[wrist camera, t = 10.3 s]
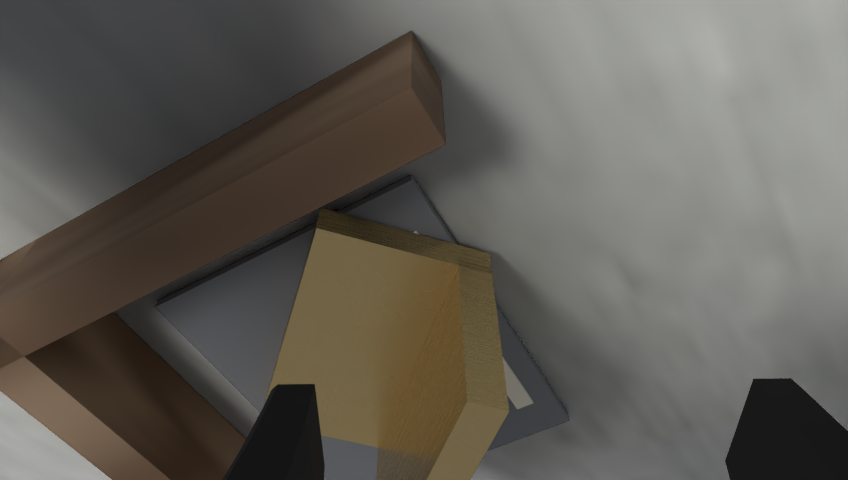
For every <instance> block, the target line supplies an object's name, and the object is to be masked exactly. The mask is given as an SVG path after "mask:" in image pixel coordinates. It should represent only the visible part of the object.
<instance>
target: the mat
mask: <svg viewBox="0 0 848 480" xmlns="http://www.w3.org/2000/svg"><path fill="white" fill-rule="evenodd" d="M338 213H342V214H345V215H349V216H353V217H357V218H360V219H364V220H368V221H371V222H375V223H379V224H383V225H386V226H390V227H394V228H397V229H401V230H405V231H409V232H412V233H416V234H420V235H424V236H427V237H431V238H435V239H438V240H442V241H446V242H450V243H453V244H457V243H456V242H455V240H454V239H453V237H452V235H451V234H450V232H449V231H448V229H447V228H446V226H445V225H444V223H443V222H442V220H441V219H440V217H439V216H438V214H437V213H436V211H435V209H434V208H433V206H432V205H431V203H430V202H429V200H428V199H427V197H426V196H425V194H424V193H423V191H422V190H421V188H420V187H419V185H418V183H417V182H416V180H415V179H414V177H413V176H412V175H410V176H408V177H406V178H404V179H402V180H400V181H398V182H396V183H394V184H392V185H390V186H388V187H386V188H384V189H382V190H380V191H378V192H376V193H374V194H372V195H370V196H368V197H366V198H364V199H362V200H360V201H358V202H356V203H354V204H352V205H350V206H348V207H346V208H344V209H342V210H340V211H338ZM316 223H317V222H315V223H313V224H311V225H309V226H307V227H305V228H303V229H301V230H299V231H297V232H295V233H293V234H291V235H289V236H287V237H285V238H283V239H281V240H279V241H277V242H275V243H273V244H271V245H269V246H267V247H265V248H263V249H261V250H259V251H257V252H255V253H253V254H251V255H249V256H247V257H245V258H243V259H241V260H239V261H237V262H235V263H233V264H231V265H229V266H227V267H225V268H223V269H221V270H219V271H217V272H215V273H213V274H211V275H209V276H207V277H205V278H203V279H201V280H199V281H197V282H195V283H193V284H191V285H189V286H187V287H185V288H183V289H181V290H179V291H177V292H175V293H173V294H171V295H169V296H167V297H165V298H163V299H161V300H159V301H158V302H157V304H156V306H155V308H156V309H157V310H158V311H159V312H160V313H161V314H162V315H163V316H164V317H165V318H166V319H167V320H168V321H169V322H170V323H171V324H172V325H173V326H174V327H175V328H176V329H177V330H178V331H179V332H180V333H181V334H182V335H183V336H184V337H185V338H186V339H187V340H188V341H189V342H190V343H191V344H192V345H193V346H194V347H195V348H196V349H197V350H198V351H199V352H200V353H201V354H202V355H203V356H204V357H205V358H206V359H207V360H208V361H209V362H210V363H211V364H212V365H213V366H214V367H215V368H216V369H217V370H218V371H219V372H220V373H221V374H222V375H223V376H224V377H225V378H226V379H227V380H228V381H229V382H230V383H231V384H232V385H233V386H234V387H235V388H236V389H237V390H238V391H239V392H240V393H241V394H242V395H243V396H244V397H245V398H246V399H247V400H248V401H249V402H250V403H251V404H252V405H253V406H254V407H255V408H256V409H257V410H258V411H259V412H260V413H261V411H262V409H263V406H264V401H265V397H266V394H267V391H268V387H269V384H270V380H271V377H272V374H273V370H274V367H275V363H276V360H277V356H278V353H279V350H280V346H281V343H282V339H283V336H284V332H285V329H286V326H287V322H288V319H289V315H290V312H291V309H292V305H293V302H294V298H295V295H296V291H297V288H298V285H299V281H300V278H301V274H302V271H303V268H304V264H305V261H306V257H307V254H308V250H309V247H310V244H311V240H312V237H313V233H314V230H315V227H316ZM496 309H497V317H498V325H499V333H500V341H501V349H502V357H503V365H504V373H505V381H506V389H507V397H508V405H509V413H508V414H507V416H506V418H505V420H504V421H503V423H502V425H501V427H500V428H499V430H498V432H497V434H496V436H495V437H494V439H493V441H492V443H491V444H490V446H489V448H488V450H491V449H494V448H496V447H499V446H502V445H504V444H507V443H510V442H512V441H515V440H518V439H521V438H523V437H526V436H529V435H531V434H534V433H537V432H539V431H542V430H545V429H547V428H550V427H553V426H556V425H558V424H561V423H564V422H566V421H569V416H568V413H567V411H566V410H565V408H564V407H563V405H562V404H561V402H560V401H559V399H558V398H557V396H556V395H555V393H554V391H553V390H552V388H551V387H550V385H549V384H548V382H547V381H546V379H545V378H544V376H543V375H542V373H541V372H540V370H539V369H538V367H537V365H536V364H535V362H534V361H533V359H532V358H531V356H530V355H529V353H528V352H527V350H526V349H525V347H524V346H523V344H522V343H521V341H520V339H519V338H518V336H517V335H516V333H515V332H514V330H513V329H512V327H511V326H510V324H509V323H508V321H507V320H506V318H505V317H504V315H503V313H502V312H501V310H500V309H499V307H498V306H497V304H496ZM321 439H322V447H323V456H324V464H325V470H324V477H325V478H326V479H327V480H376V472H377V456H378V447H373V446H368V445H364V444H359V443H354V442H350V441H345V440H340V439H335V438H331V437H326V436H321ZM488 450H487V451H488Z"/></svg>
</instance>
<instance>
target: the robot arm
mask: <svg viewBox="0 0 848 480" xmlns="http://www.w3.org/2000/svg"><path fill="white" fill-rule="evenodd" d="M725 462H726V465H727V469H728V473H729V476H730V480H848V431H847V430H846V429H845V428H844V427H843V426H842V425H840V424H839V423H838V422H837V421H836V420H835V419H834V418H833V417H832V416H831V415H830V414H829V413H828V412H827V411H826V410H824V409H823V408H822V407H821V406H820V405H819V404H818V403H817V402H816V401H815V400H814V399H813V398H812V397H811V396H809V395H808V394H807V393H806V392H805V391H804V390H803V389H802V388H801V387H800V386H799V385H797V384H796V383H795V382H794V381H793V380H792V379H791V378H789V379H753V382H752V385H751V388H750V391H749V394H748V397H747V400H746V402H745V405H744V408H743V411H742V414H741V417H740V420H739V423H738V426H737V428H736V431H735V434H734V437H733V440H732V443H731V446H730V449H729V452H728V455H727V457H726V460H725ZM324 470H325V464H324V456H323V447H322V439H321V431H320V423H319V414H318V406H317V398H316V390H315V384H278V385H276V386H275V387H274V388H273V389H272V390H271V392H270V394H269V396H268V398H267V400H266V403H265V405H264V407H263V409H262V411H261V413H260V415H259V417H258V418H257V420H256V422H255V424H254V426H253V428H252V430H251V432H250V433H249V435H248V437H247V439H246V441H245V442H244V444H243V446H242V448H241V449H240V451H239V453H238V455H237V456H236V458H235V460H234V461H233V463H232V464H231V466H230V468H229V469H228V471H227V473H226V474H225V476H224V477H223V479H222V480H324Z"/></svg>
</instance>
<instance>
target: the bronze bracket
mask: <svg viewBox="0 0 848 480" xmlns="http://www.w3.org/2000/svg"><path fill="white" fill-rule="evenodd" d="M278 384H315V390H316V398H317V406H318V414H319V423H320V431H321V436H326V437H331V438H335V439H340V440H345V441H350V442H354V443H359V444H364V445H368V446H373V447H378V456H377V472H376V480H470V479H471V478H472V476H473V474H474V472H475V471H476V469H477V467H478V465H479V464H480V462H481V460H482V458H483V457H484V455H485V453H486V451H487V450H488V448H489V446H490V444H491V443H492V441H493V439H494V437H495V436H496V434H497V432H498V430H499V428H500V427H501V425H502V423H503V421H504V420H505V418H506V416H507V414H508V413H509V405H508V397H507V389H506V381H505V373H504V365H503V357H502V349H501V341H500V333H499V325H498V317H497V309H496V300H495V292H494V284H493V276H492V268H491V260H490V253H487V252H483V251H479V250H476V249H472V248H468V247H464V246H461V245H457V244H453V243H450V242H446V241H442V240H438V239H435V238H431V237H427V236H424V235H420V234H416V233H412V232H409V231H405V230H401V229H397V228H394V227H390V226H386V225H383V224H379V223H375V222H371V221H368V220H364V219H360V218H357V217H353V216H349V215H345V214H342V213H338V212H334V211H331V210H327V209H323V208H321V209H320V213H319V216H318V220H317V223H316V227H315V230H314V233H313V237H312V240H311V244H310V247H309V250H308V254H307V257H306V261H305V264H304V268H303V271H302V274H301V278H300V281H299V285H298V288H297V291H296V295H295V298H294V302H293V305H292V309H291V312H290V315H289V319H288V322H287V326H286V329H285V332H284V336H283V339H282V343H281V346H280V350H279V353H278V356H277V360H276V363H275V367H274V370H273V374H272V377H271V380H270V384H269V387H268V391H267V394H266V397H265V401H264V405H265V403H266V400H267V398H268V396H269V394H270V392H271V390H272V389H273V388H274V387H275V386H276V385H278ZM263 407H264V406H263Z"/></svg>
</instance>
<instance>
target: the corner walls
mask: <svg viewBox="0 0 848 480" xmlns="http://www.w3.org/2000/svg"><path fill="white" fill-rule="evenodd" d="M445 144H446V139H445V126H444V114H443V101H442V89H441V80H440V79H439V77H438V75H437V73H436V72H435V70H434V68H433V67H432V65H431V63H430V61H429V60H428V58H427V56H426V55H425V53H424V51H423V49H422V48H421V46H420V44H419V42H418V41H417V39H416V37H415V36H414V34H413V32H412V31H410V32H408V33H406V34H405V35H403V36H401V37H399V38H397V39H396V40H394V41H392V42H390V43H388V44H387V45H385V46H383V47H381V48H379V49H378V50H376V51H374V52H372V53H371V54H369V55H367V56H365V57H363V58H362V59H360V60H358V61H356V62H354V63H353V64H351V65H349V66H347V67H345V68H344V69H342V70H340V71H338V72H336V73H335V74H333V75H331V76H329V77H327V78H326V79H324V80H322V81H320V82H319V83H317V84H315V85H313V86H311V87H310V88H308V89H306V90H304V91H302V92H301V93H299V94H297V95H295V96H293V97H292V98H290V99H288V100H286V101H284V102H283V103H281V104H279V105H277V106H275V107H274V108H272V109H270V110H268V111H267V112H265V113H263V114H261V115H259V116H258V117H256V118H254V119H252V120H250V121H249V122H247V123H245V124H243V125H241V126H240V127H238V128H236V129H234V130H232V131H231V132H229V133H227V134H225V135H223V136H222V137H220V138H218V139H216V140H215V141H213V142H211V143H209V144H207V145H206V146H204V147H202V148H200V149H198V150H197V151H195V152H193V153H191V154H189V155H188V156H186V157H184V158H182V159H180V160H179V161H177V162H175V163H173V164H171V165H170V166H168V167H166V168H164V169H163V170H161V171H159V172H157V173H155V174H154V175H152V176H150V177H148V178H146V179H145V180H143V181H141V182H139V183H137V184H136V185H134V186H132V187H130V188H128V189H127V190H125V191H123V192H121V193H119V194H118V195H116V196H114V197H112V198H111V199H109V200H107V201H105V202H103V203H102V204H100V205H98V206H96V207H94V208H93V209H91V210H89V211H87V212H85V213H84V214H82V215H80V216H78V217H76V218H75V219H73V220H71V221H69V222H67V223H66V224H64V225H62V226H60V227H59V228H57V229H55V230H53V231H51V232H50V233H48V234H46V235H44V236H42V237H41V238H39V239H37V240H35V241H33V242H32V243H30V244H28V245H26V246H24V247H23V248H21V249H19V250H17V251H15V252H14V253H12V254H10V255H8V256H7V257H5V258H3V259H1V260H0V391H1V392H2V393H4V394H5V395H6V396H8V397H9V398H10V399H11V400H13V401H14V402H15V403H16V404H18V405H19V406H20V407H21V408H23V409H24V410H25V411H26V412H28V413H29V414H30V415H31V416H33V417H34V418H35V419H36V420H38V421H39V422H40V423H42V424H43V425H44V426H45V427H47V428H48V429H49V430H50V431H52V432H53V433H54V434H55V435H57V436H58V437H59V438H60V439H62V440H63V441H64V442H65V443H67V444H68V445H69V446H70V447H72V448H73V449H74V450H76V451H77V452H78V453H79V454H81V455H82V456H83V457H84V458H86V459H87V460H88V461H89V462H91V463H92V464H93V465H94V466H96V467H97V468H98V469H99V470H101V471H102V472H103V473H105V474H106V475H107V476H108V477H110V478H111V479H112V480H222V479H223V477H224V476H225V474H226V473H227V471H228V469H229V468H230V466H231V464H232V463H233V461H234V460H235V458H236V456H237V455H238V453H239V451H240V449H241V448H242V446H243V444H244V442H245V441H246V439H245V438H244V437H243V436H242V435H241V434H240V433H239V432H238V431H237V430H236V429H235V428H234V427H233V426H232V425H231V424H230V423H229V422H227V421H226V420H225V419H224V418H223V417H222V416H221V415H220V414H219V413H218V412H217V411H216V410H215V409H214V408H213V407H212V406H211V405H210V404H209V403H208V402H207V401H206V400H204V399H203V398H202V397H201V396H200V395H199V394H198V393H197V392H196V391H195V390H194V389H193V388H192V387H191V386H190V385H189V384H188V383H187V382H186V381H185V380H184V379H182V378H181V377H180V376H179V375H178V374H177V373H176V372H175V371H174V370H173V369H172V368H171V367H170V366H169V365H168V364H167V363H166V362H165V361H164V360H163V359H162V358H161V357H159V356H158V355H157V354H156V353H155V352H154V351H153V350H152V349H151V348H150V347H149V346H148V345H147V344H146V343H145V342H144V341H143V340H142V339H141V338H140V337H139V336H138V335H136V334H135V333H134V332H133V331H132V330H131V329H130V328H129V327H128V326H127V325H126V324H125V323H124V322H123V321H122V320H121V319H120V318H119V317H118V316H117V315H116V314H115V313H113V312H114V311H116V310H118V309H120V308H122V307H124V306H126V305H128V304H130V303H132V302H133V301H135V300H137V299H139V298H141V297H143V296H145V295H147V294H149V293H151V292H153V291H155V290H157V289H159V288H161V287H163V286H165V285H167V284H169V283H171V282H173V281H175V280H177V279H179V278H181V277H183V276H185V275H187V274H189V273H191V272H193V271H195V270H197V269H199V268H201V267H203V266H205V265H207V264H209V263H211V262H213V261H215V260H217V259H219V258H221V257H223V256H225V255H227V254H229V253H231V252H233V251H235V250H237V249H239V248H241V247H243V246H245V245H247V244H249V243H251V242H253V241H255V240H257V239H259V238H261V237H263V236H265V235H267V234H269V233H271V232H273V231H275V230H277V229H279V228H281V227H283V226H285V225H286V224H288V223H290V222H292V221H294V220H296V219H298V218H300V217H302V216H304V215H306V214H308V213H310V212H312V211H314V210H316V209H318V208H320V207H322V206H324V205H326V204H328V203H330V202H332V201H334V200H336V199H338V198H340V197H342V196H344V195H346V194H348V193H350V192H352V191H354V190H356V189H358V188H360V187H362V186H364V185H366V184H368V183H370V182H372V181H374V180H376V179H378V178H380V177H382V176H384V175H386V174H388V173H390V172H392V171H394V170H396V169H398V168H400V167H402V166H404V165H406V164H408V163H410V162H412V161H414V160H416V159H418V158H420V157H422V156H424V155H426V154H428V153H430V152H432V151H434V150H436V149H438V148H439V147H441V146H443V145H445Z"/></svg>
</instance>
